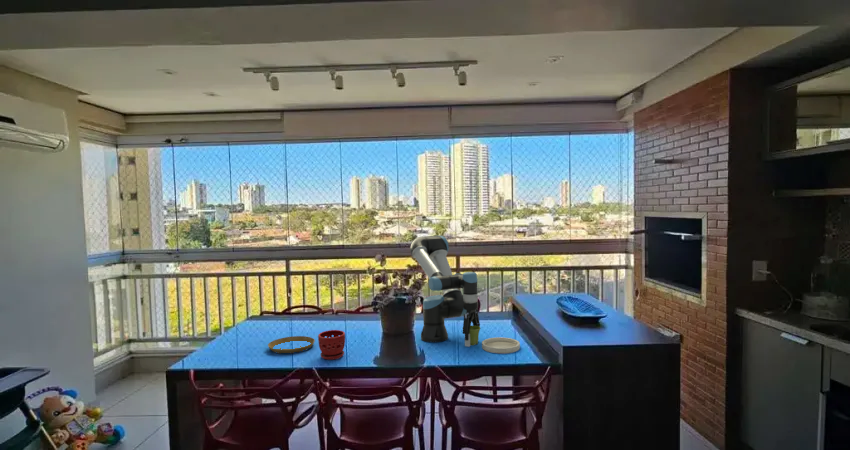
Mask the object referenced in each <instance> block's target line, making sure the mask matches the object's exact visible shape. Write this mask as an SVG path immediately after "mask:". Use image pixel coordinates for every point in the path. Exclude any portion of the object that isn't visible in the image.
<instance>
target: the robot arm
mask: <svg viewBox="0 0 850 450" xmlns="http://www.w3.org/2000/svg"><path fill="white" fill-rule="evenodd" d="M409 252H410V255H411V257H412V258H413V259H414V258H416V259H415V260H416V261H417V262H418V265H420V268H422V270H423V272H424V273H425V275H426V276H427V279H428V287H429V289H430V290H431V291H433V292H435V291H437V292H439V291H440V292H441V291H442V293H443V294H442V295H441V294H437V295H436V294H435V295H430V296H427V297H425V298H424V299H423V300H422V312H423V313H422V315H423V316H422V317H423V318H422V319H423V327H422V328H421V329H422V330H421V333H420V339H421V341H422V342H426V343H440V342H444V341H446V340H448V339H449V334H448V331H447V328H446V325H445V319H452V318H460V317H463V323H462V324H463V325H462V334H463V335H464V347H468V348H470V347H471V345H470V334H469V331H470V326H479V327H480V328H481V323H480V322H481V321H480V317H479V302H478V299H479V294H478V275H477V273H476V272H475V271H465V272H463V273H461V272H460V273H456V272H455V274H453V272H452V269H451V266H450V264H449V261H448V258H447V255H448V253H449V241H448V240H447V238H446V237H445V236H444V235H438V234H437V235H429V236H428V235H427V236H426V235H425V236H424V235H423V236H421V235H420V236H417V237H416V238H415V239H413V240H412V242H411V244H410V247H409ZM460 289H462V290H460ZM462 291H463V292H462ZM478 342H479V337H478Z"/></svg>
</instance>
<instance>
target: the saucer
mask: <svg viewBox="0 0 850 450" xmlns="http://www.w3.org/2000/svg"><path fill="white" fill-rule="evenodd" d="M520 348H521V343H520V341H519V340H517V339H515V338H511V337H499V336H498V337H497V336H496V337H489V338H486V339H484V340H482V341H481V349H482V350H483V351H485V352H487V353H493V354H502V355H503V354H512V353H515V352H518V351H519V350H520Z"/></svg>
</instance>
